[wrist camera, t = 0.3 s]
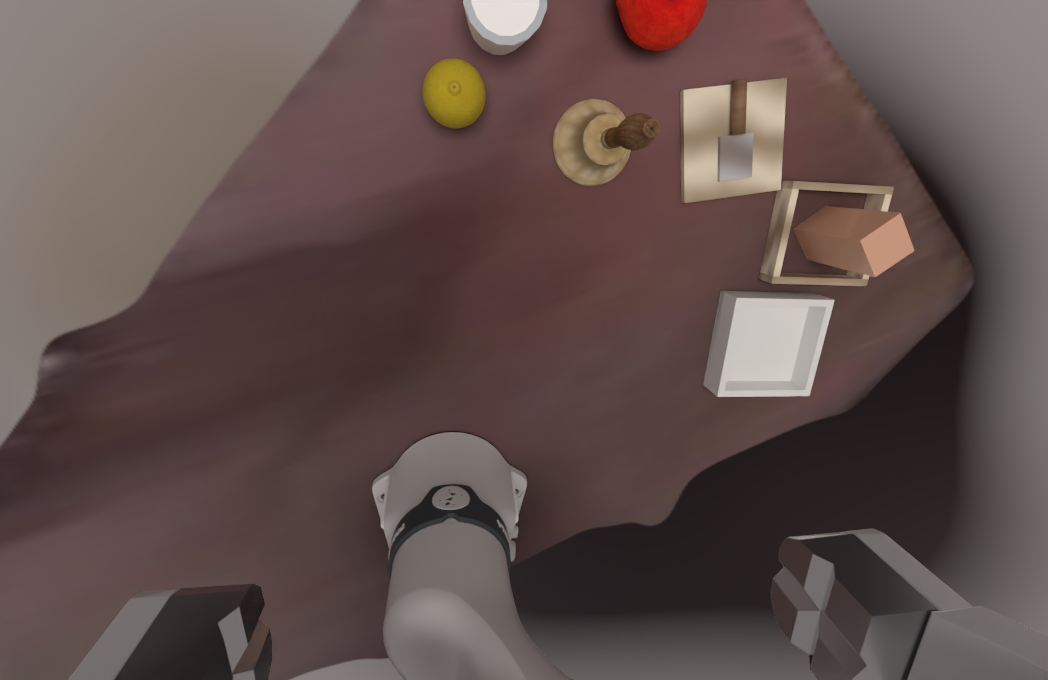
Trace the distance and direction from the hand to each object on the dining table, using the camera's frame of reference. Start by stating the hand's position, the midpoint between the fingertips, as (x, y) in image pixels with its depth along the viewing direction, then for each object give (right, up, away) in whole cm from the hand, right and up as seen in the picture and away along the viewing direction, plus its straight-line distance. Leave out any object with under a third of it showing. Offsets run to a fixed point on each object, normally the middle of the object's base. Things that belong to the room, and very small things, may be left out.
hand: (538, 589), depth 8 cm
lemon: (-7, +27, +40) cm, 49 cm away
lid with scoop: (+22, +25, +44) cm, 55 cm away
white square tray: (+28, +4, +53) cm, 60 cm away
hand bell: (+7, +24, +43) cm, 50 cm away
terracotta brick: (+34, +16, +49) cm, 62 cm away
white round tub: (-3, +34, +38) cm, 51 cm away
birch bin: (+34, +16, +49) cm, 62 cm away
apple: (+11, +35, +40) cm, 54 cm away
